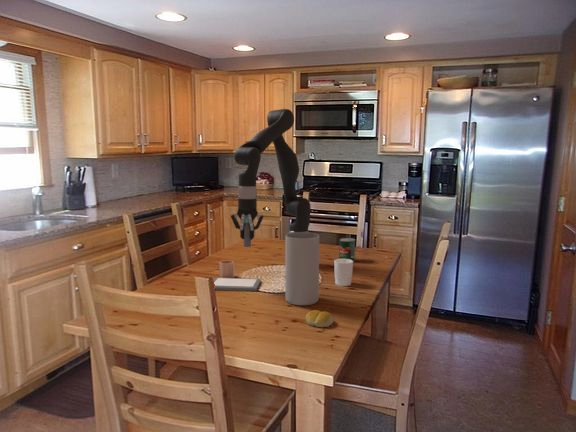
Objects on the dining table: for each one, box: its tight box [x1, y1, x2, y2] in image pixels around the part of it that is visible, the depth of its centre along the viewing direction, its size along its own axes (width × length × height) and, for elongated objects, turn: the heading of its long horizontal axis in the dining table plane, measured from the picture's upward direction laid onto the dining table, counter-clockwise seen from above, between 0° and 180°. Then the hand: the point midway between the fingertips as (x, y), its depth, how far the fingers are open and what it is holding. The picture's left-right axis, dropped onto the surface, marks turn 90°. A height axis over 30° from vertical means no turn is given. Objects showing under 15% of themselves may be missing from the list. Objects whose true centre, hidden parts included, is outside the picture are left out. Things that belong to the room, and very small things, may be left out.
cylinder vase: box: [284, 231, 320, 307], centre depth 162 cm, size 12×12×25 cm
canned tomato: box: [338, 237, 356, 263], centre depth 221 cm, size 8×8×11 cm
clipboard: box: [213, 277, 262, 292], centre depth 181 cm, size 20×13×1 cm, turn 84°
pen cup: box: [218, 259, 235, 278], centre depth 192 cm, size 6×6×7 cm
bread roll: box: [305, 309, 335, 328], centre depth 143 cm, size 8×9×4 cm
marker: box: [243, 215, 252, 248], centre depth 178 cm, size 3×3×13 cm
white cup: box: [333, 258, 354, 287], centre depth 183 cm, size 8×8×10 cm
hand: (247, 238), depth 178 cm, fingers closed on marker, 3 cm apart
